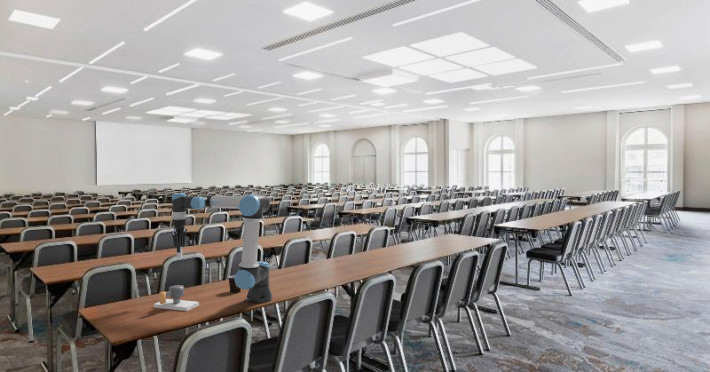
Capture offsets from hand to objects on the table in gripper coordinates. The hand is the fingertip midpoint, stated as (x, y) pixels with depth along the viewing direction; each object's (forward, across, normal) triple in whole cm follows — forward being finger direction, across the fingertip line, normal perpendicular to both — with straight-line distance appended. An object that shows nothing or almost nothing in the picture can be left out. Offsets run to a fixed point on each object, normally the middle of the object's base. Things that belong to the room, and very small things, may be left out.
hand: (179, 257), depth 264 cm
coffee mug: (+26, -25, +25) cm, 44 cm away
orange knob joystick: (+21, +16, +5) cm, 27 cm away
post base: (+26, +12, +6) cm, 29 cm away
